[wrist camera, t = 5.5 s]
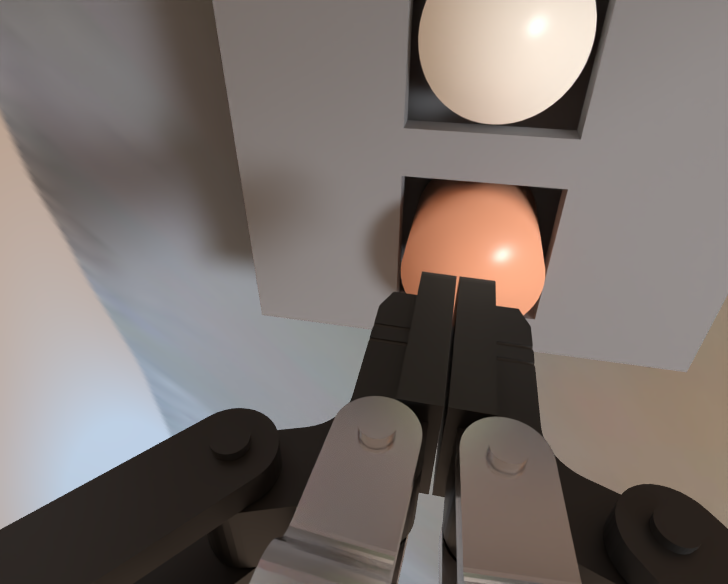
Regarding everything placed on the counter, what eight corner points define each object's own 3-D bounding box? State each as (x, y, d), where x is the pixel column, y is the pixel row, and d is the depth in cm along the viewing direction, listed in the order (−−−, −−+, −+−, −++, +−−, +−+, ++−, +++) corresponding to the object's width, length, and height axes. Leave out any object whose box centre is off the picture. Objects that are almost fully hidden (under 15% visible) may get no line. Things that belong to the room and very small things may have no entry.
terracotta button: (548, 166, 17) (560, 220, 14) (524, 273, 20) (530, 339, 17) (420, 156, 18) (403, 206, 15) (413, 260, 20) (398, 322, 17)
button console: (1029, -618, 9) (1417, -1011, 5) (652, 290, 22) (686, 372, 18) (230, -492, 12) (102, -695, 8) (299, 251, 24) (262, 314, 21)
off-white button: (592, -69, 14) (619, -67, 11) (558, 91, 17) (572, 129, 14) (438, -69, 15) (423, -67, 12) (428, 84, 18) (413, 119, 15)
